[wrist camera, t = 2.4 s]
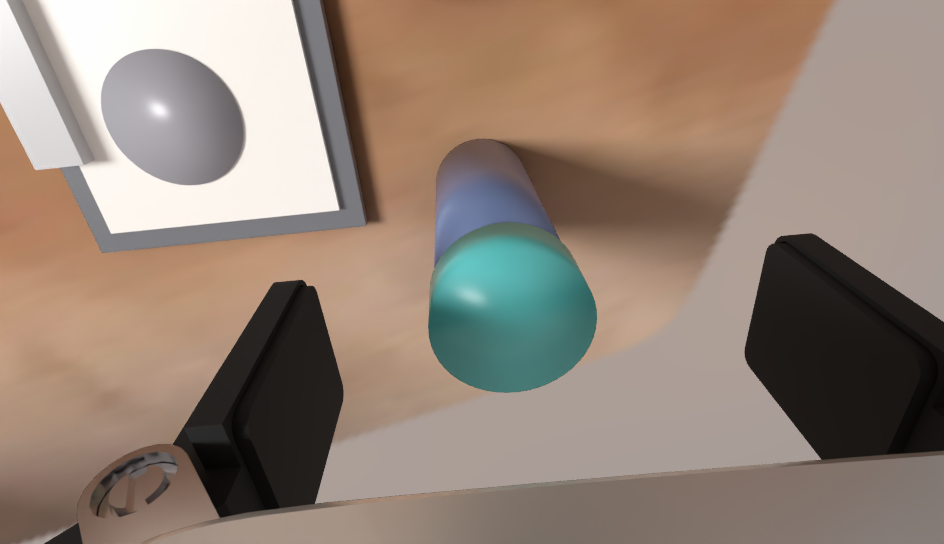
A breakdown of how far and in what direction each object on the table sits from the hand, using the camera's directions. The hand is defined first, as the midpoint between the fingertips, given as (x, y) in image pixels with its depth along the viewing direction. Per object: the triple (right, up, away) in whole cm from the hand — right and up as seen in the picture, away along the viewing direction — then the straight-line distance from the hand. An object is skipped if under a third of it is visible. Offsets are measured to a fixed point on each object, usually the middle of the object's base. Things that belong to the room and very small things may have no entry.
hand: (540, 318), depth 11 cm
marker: (-1, +4, +8) cm, 10 cm away
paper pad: (-11, +8, +6) cm, 15 cm away
